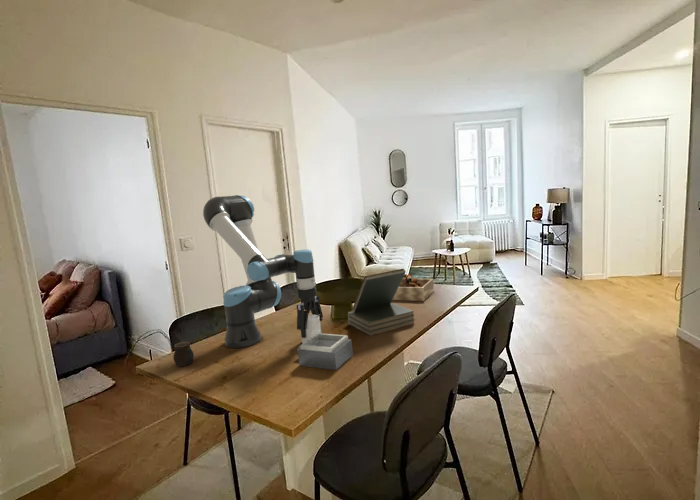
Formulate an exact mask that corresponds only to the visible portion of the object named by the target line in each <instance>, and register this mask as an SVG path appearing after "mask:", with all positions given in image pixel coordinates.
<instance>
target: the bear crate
mask: <svg viewBox="0 0 700 500" xmlns="http://www.w3.org/2000/svg"><path fill="white" fill-rule="evenodd" d="M417 282H419V283H420V284H421V286H420V287H406V280H405V278H402V280H401V283H400V285H399V287H398V289H397V291H396V293H395V295H394V297H393V299H392V301H396V300H397V301H419V302H424V301H426V299H428V298H429V296H430V295H431V294H432V293H434V291H435V286H434V278H417Z"/></svg>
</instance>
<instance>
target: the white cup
mask: <svg viewBox="0 0 700 500" xmlns="http://www.w3.org/2000/svg"><path fill="white" fill-rule="evenodd" d="M320 324H321V321H320V320H319V316H318V315H312V314H308V320H307V327H306V329H308V337H309V339H311V338H312V337H314V336H315V335H317V334H318V333H320Z"/></svg>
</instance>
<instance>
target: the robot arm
mask: <svg viewBox="0 0 700 500" xmlns="http://www.w3.org/2000/svg"><path fill="white" fill-rule="evenodd" d="M254 215H255V207H254V203H253V202H252V201H251V199H250V198H249V197H247V196H245V195H239V194H238V195H237V194H235V195H224V196H213V197H212V198H210V199H209V200H207V201H206V203H205V204H204V205H203V212H202V216H203V219H204V222H205V224H206V225H207V227H208V228H209V229H210V230H212V231H216V232H217V234H218V235H219V236H220V237H221V238H222V239H223V241H225V243H226V244H227V245H228V246H229V247H230V248H231V249H232V250H233V252H234V253H235V254H236V255H237V256H238V257H239V259H241V263H242V266H243V269H244V272H245V275H246V279H247V282H246V283H245V285H239V286H235V287H231V288H229V289H227V290H226V291H225V292H224V294H223V306H224V307H223V308H224V312H225V313H224V314H225V318H226V319H225V320H226V321H225V322H226V330H225V331H226V332H225V338H224V345H225V347H227V348H230V349H240V348H247V347H250V346H253V345H255V344H257V343H259V342H260V341H261V340H262V333H261V332H260V330H259V328H258V326H257V324H256V320H255V314H257V313H259V312H263V311H266V310H269V309H271V308H273V307H276V306H277V305H278V304H279V303H280V300H281V299H282V298H281V297H282V291H281V289H282V288H281V287H280V285H279V283H277V282H276V281H275V280H273V279H272V278H273V277H277V276H280V275H285V274H295V279H296V287H297V296H298V298H299V299H300V304H296V310H297V312H296V313H297V314H296V316H297V317H296V330H298V331H300V335H301V341H302V344H303V343H305V342H306V341H308V340H309V337H308V329H306V327H307V320H308V315H310V313H311V315H318V316H319V320H320V322H321V321H323V320H324V319H323V317H324V314H323V310H322V307H321V302H320V296H317V294H318V293H317V288H316V278H315V268H314V267H315V266H314V257H313V252H312V250H311V249H305V248H304V249H298V250H295V251H293V254H284V253H282V254H277V255H275V256H273V257H269V258H267V257H266V256H265V255H264V254H263V253H262V252H261V251H260V250H259V247H258V243H257V241H256V239H255V235H254V234H255V233H254V231H253V228H252V225H251V224H252V222H253V218H254ZM321 326H322V325H321V323H320V333H322V327H321Z"/></svg>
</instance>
